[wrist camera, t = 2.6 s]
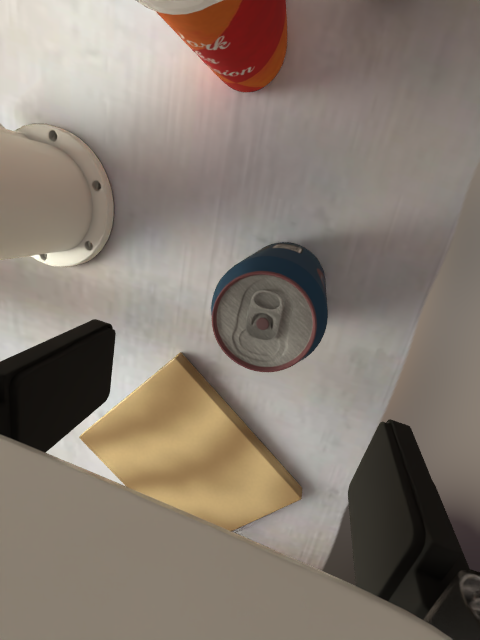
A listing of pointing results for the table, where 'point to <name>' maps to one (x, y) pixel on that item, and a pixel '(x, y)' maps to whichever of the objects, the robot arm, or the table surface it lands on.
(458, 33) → the table surface
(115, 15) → the table surface
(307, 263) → the soda can
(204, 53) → the paper cup
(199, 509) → the breadboard
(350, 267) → the table surface
